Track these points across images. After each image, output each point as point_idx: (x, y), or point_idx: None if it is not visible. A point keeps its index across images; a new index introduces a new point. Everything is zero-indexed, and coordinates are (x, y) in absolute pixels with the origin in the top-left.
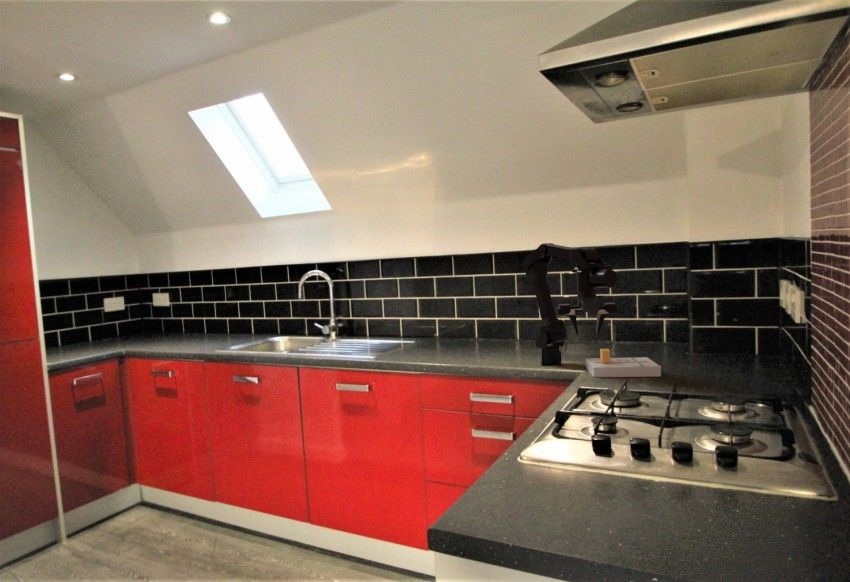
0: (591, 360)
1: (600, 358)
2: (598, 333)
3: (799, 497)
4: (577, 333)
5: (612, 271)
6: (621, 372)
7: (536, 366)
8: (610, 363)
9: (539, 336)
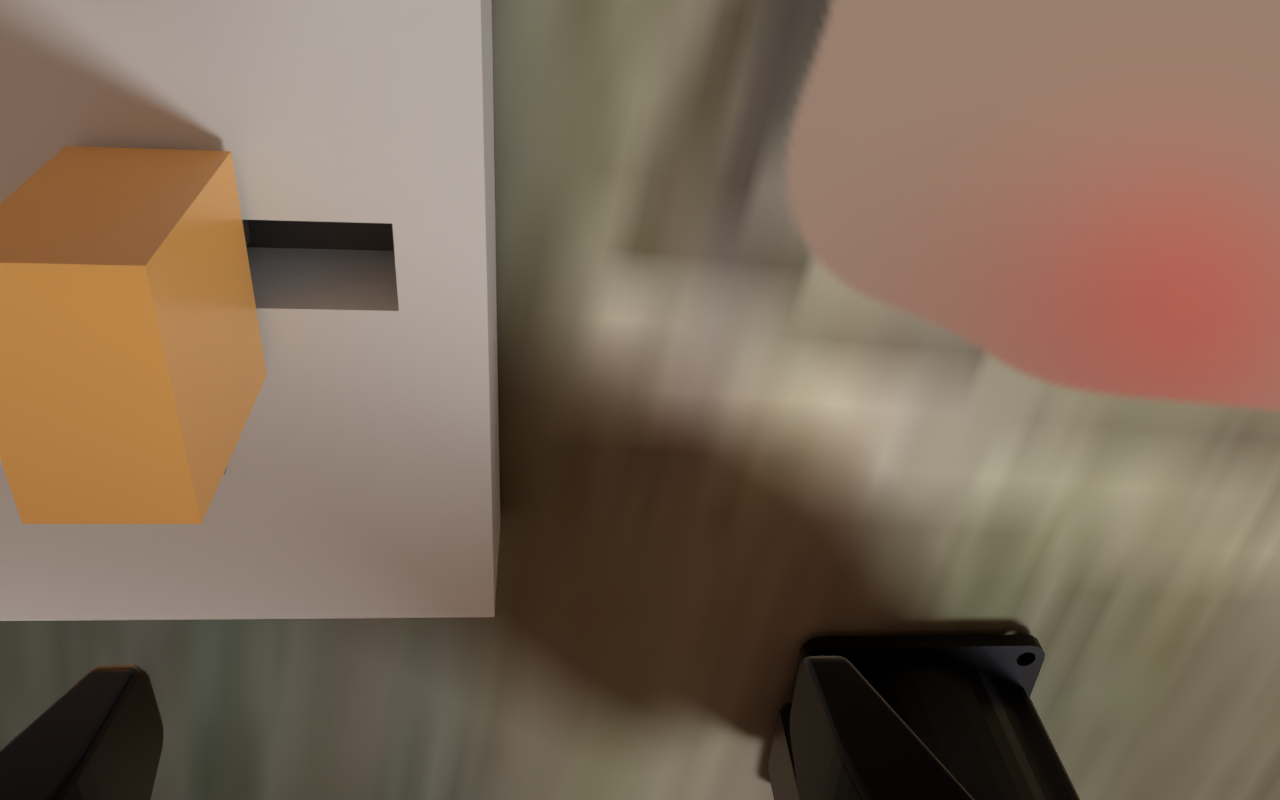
0: (418, 470)
1: (251, 383)
2: (75, 695)
3: None
4: (839, 696)
5: None
6: None
7: (1097, 637)
8: None
9: None
